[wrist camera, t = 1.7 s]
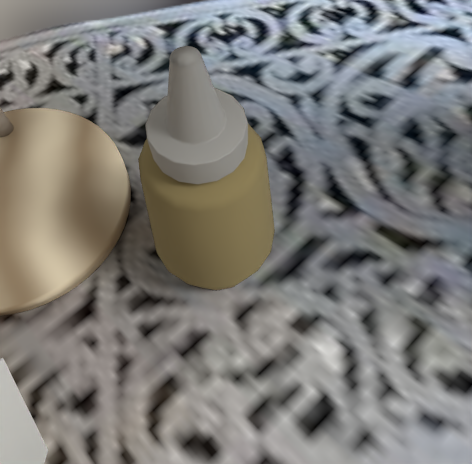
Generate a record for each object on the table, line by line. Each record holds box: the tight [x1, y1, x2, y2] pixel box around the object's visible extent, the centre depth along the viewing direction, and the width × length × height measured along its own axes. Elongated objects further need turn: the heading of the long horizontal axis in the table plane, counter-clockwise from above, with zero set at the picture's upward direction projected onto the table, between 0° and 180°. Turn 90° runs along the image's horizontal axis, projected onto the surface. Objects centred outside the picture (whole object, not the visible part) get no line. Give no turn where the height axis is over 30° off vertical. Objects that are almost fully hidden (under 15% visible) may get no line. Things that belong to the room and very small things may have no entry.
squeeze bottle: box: [138, 46, 275, 290], centre depth 24 cm, size 8×8×18 cm
